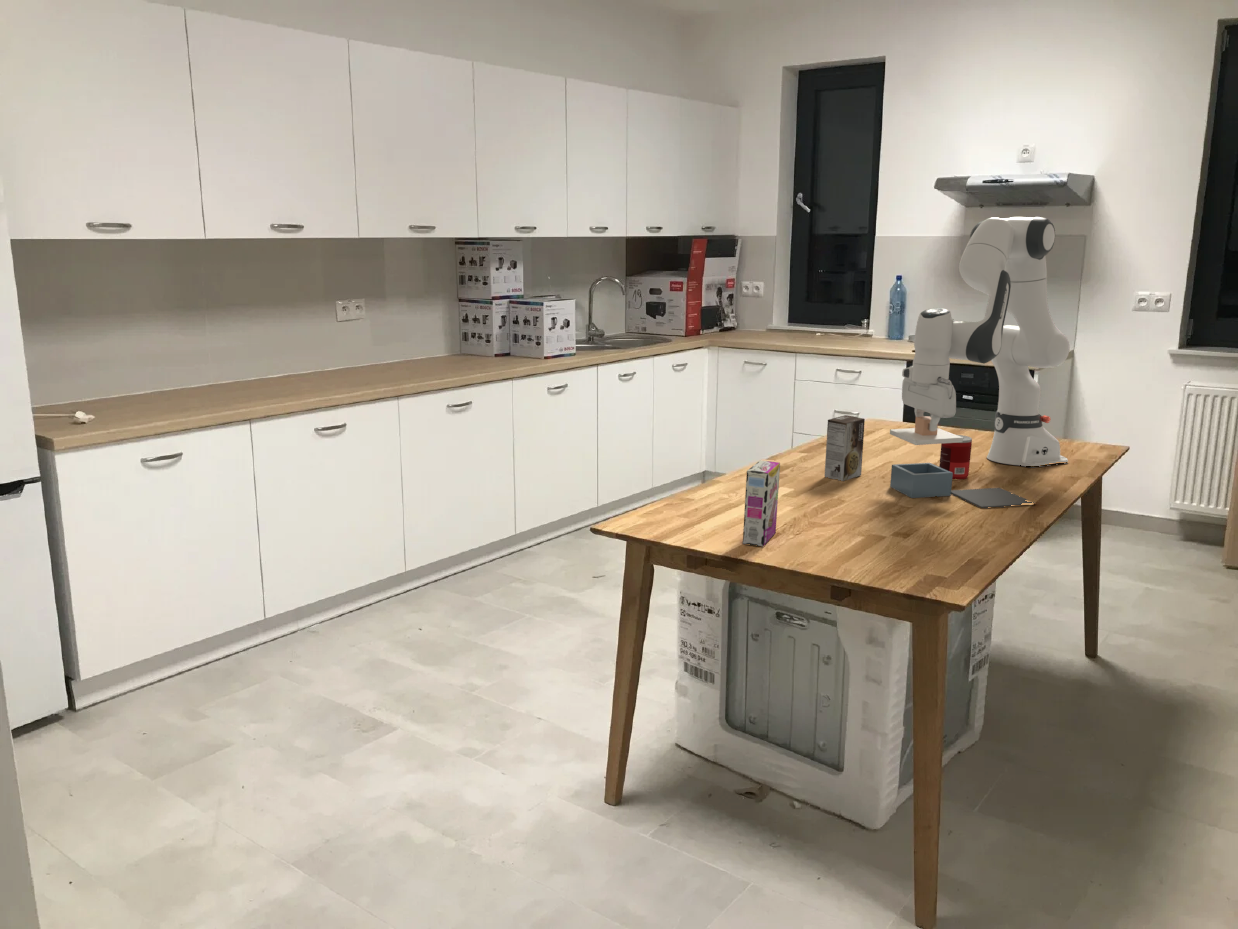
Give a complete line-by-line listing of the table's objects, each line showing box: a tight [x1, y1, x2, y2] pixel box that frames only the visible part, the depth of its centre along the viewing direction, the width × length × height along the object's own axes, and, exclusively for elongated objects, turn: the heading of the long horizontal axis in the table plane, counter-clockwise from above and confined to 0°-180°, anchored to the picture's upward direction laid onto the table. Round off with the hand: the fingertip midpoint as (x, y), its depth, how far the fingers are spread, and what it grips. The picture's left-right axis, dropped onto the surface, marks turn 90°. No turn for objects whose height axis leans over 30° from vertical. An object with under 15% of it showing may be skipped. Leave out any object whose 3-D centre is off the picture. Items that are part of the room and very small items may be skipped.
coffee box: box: [824, 415, 866, 482], centre depth 261 cm, size 9×6×16 cm
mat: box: [951, 487, 1035, 509], centre depth 243 cm, size 15×15×1 cm
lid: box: [889, 415, 963, 446], centre depth 245 cm, size 13×13×5 cm
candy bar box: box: [742, 460, 781, 548], centre depth 208 cm, size 11×5×16 cm, turn 157°
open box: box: [889, 462, 953, 499], centre depth 248 cm, size 11×11×6 cm
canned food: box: [938, 434, 973, 480], centre depth 263 cm, size 8×8×11 cm
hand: (926, 428), depth 245 cm, fingers closed on lid, 4 cm apart
